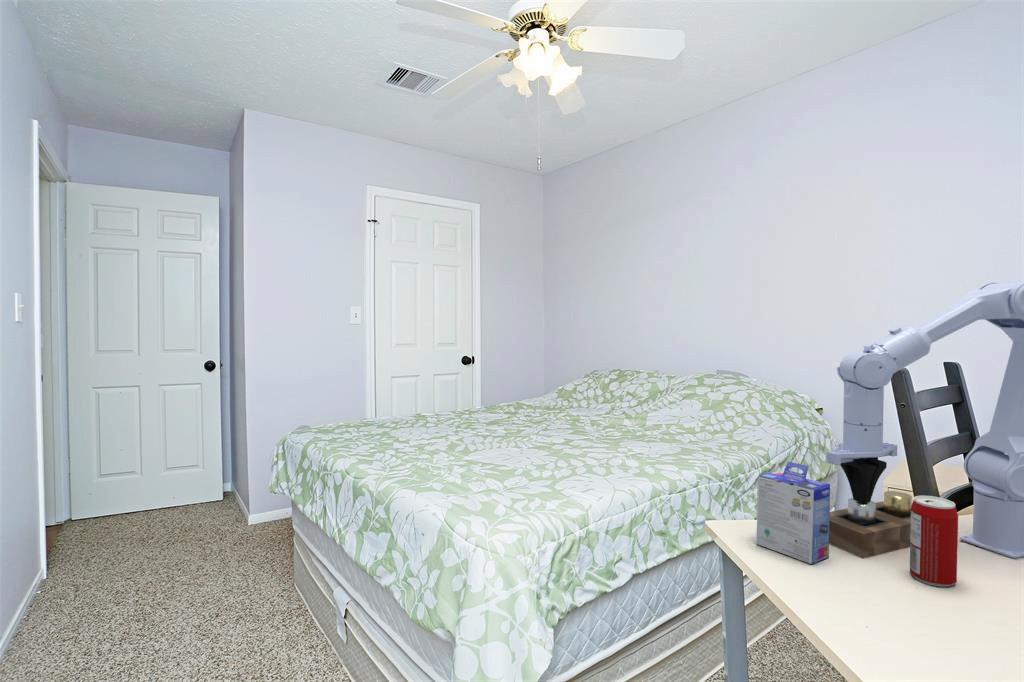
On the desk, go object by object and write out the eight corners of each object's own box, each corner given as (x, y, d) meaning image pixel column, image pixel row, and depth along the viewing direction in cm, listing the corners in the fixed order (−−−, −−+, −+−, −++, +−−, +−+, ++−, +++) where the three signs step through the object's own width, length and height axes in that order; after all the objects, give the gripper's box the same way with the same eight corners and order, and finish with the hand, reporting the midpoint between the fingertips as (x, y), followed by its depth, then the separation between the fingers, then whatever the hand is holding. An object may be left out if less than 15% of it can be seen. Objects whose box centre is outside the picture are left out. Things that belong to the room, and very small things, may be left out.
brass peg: (893, 509, 99) (894, 490, 99) (916, 517, 95) (917, 496, 95) (878, 513, 98) (878, 492, 98) (901, 521, 94) (901, 500, 94)
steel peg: (858, 517, 96) (859, 496, 96) (881, 525, 92) (881, 504, 92) (842, 520, 95) (842, 499, 94) (864, 529, 91) (864, 507, 91)
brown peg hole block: (892, 519, 103) (893, 499, 103) (945, 538, 95) (945, 515, 94) (814, 537, 96) (814, 514, 96) (863, 558, 88) (863, 534, 87)
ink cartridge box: (831, 557, 88) (832, 469, 88) (813, 566, 85) (814, 475, 84) (773, 536, 96) (773, 456, 96) (755, 544, 93) (755, 461, 93)
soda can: (966, 586, 78) (968, 504, 78) (933, 589, 78) (935, 507, 77) (931, 568, 84) (933, 491, 83) (900, 571, 83) (901, 494, 82)
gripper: (870, 415, 99) (868, 488, 100) (810, 422, 94) (810, 499, 95) (910, 422, 92) (908, 500, 93) (849, 430, 87) (847, 513, 88)
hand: (861, 501), depth 93 cm, fingers closed
